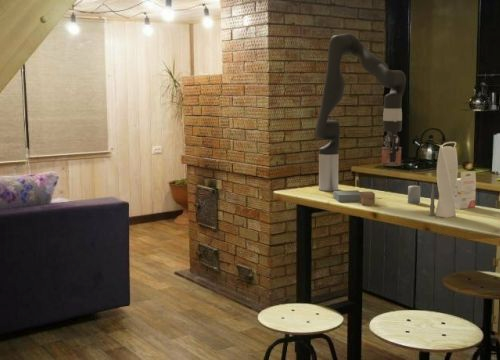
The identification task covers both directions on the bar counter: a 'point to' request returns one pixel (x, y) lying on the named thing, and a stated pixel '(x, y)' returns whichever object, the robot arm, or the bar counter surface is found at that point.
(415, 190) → the grey upright block
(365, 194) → the walnut block
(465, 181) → the ink cartridge box
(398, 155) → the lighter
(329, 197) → the bar counter surface
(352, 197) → the block
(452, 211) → the skyscraper
